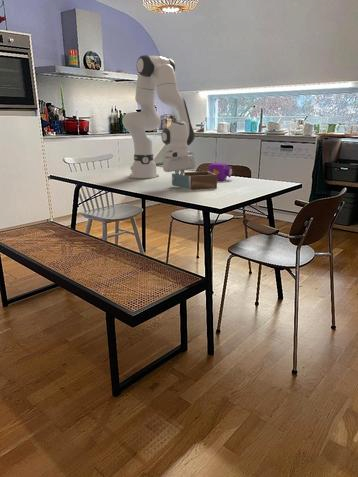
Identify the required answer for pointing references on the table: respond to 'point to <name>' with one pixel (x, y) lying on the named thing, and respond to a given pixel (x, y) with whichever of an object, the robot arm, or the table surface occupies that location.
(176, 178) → the side door
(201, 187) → the storage case
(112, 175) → the table surface
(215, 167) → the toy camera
